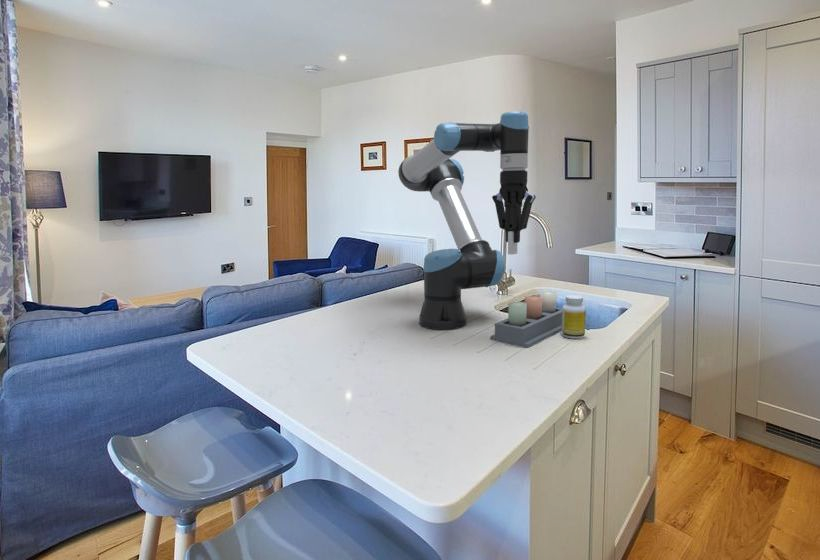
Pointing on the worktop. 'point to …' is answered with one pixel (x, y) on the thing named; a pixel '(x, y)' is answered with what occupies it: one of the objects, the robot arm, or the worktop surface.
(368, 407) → the worktop surface
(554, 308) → the button cream
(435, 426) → the worktop surface
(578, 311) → the pill bottle
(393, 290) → the worktop surface
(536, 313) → the pink cylinder
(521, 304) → the button sage
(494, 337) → the button panel
